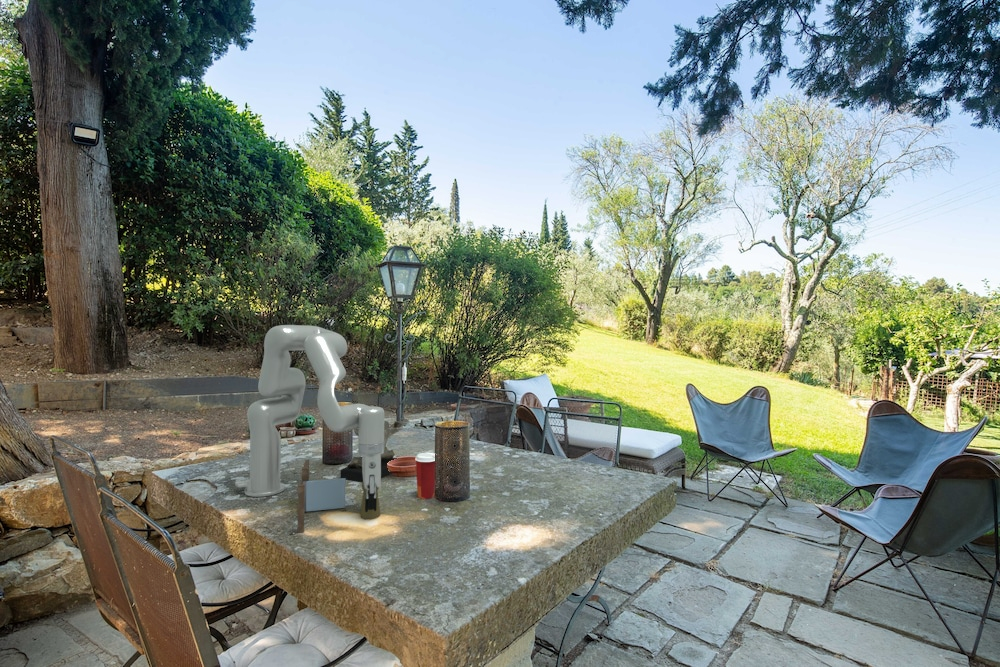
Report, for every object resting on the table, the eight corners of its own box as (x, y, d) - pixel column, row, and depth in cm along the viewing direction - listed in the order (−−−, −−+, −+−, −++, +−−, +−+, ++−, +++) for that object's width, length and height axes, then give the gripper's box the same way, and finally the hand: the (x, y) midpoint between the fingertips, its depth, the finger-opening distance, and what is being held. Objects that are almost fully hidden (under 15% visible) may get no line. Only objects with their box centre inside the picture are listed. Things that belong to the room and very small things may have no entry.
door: (345, 507, 149) (345, 479, 149) (302, 511, 145) (302, 482, 145) (345, 506, 151) (345, 477, 150) (302, 510, 146) (302, 481, 146)
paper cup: (441, 494, 164) (442, 453, 164) (429, 501, 157) (429, 459, 157) (422, 490, 167) (423, 451, 167) (409, 497, 160) (410, 456, 160)
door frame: (296, 533, 131) (297, 486, 131) (303, 499, 157) (304, 459, 157) (304, 532, 132) (305, 485, 132) (310, 498, 158) (310, 459, 158)
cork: (362, 511, 147) (362, 476, 147) (381, 511, 148) (382, 476, 148) (357, 519, 141) (358, 482, 141) (378, 519, 142) (379, 482, 142)
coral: (379, 462, 202) (380, 411, 202) (421, 468, 194) (421, 415, 194) (338, 478, 179) (339, 421, 179) (383, 486, 171) (384, 427, 171)
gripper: (386, 454, 138) (385, 517, 138) (381, 441, 154) (380, 497, 154) (359, 456, 135) (358, 520, 136) (357, 442, 151) (356, 500, 151)
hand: (370, 507), depth 145 cm, fingers closed on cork, 3 cm apart
